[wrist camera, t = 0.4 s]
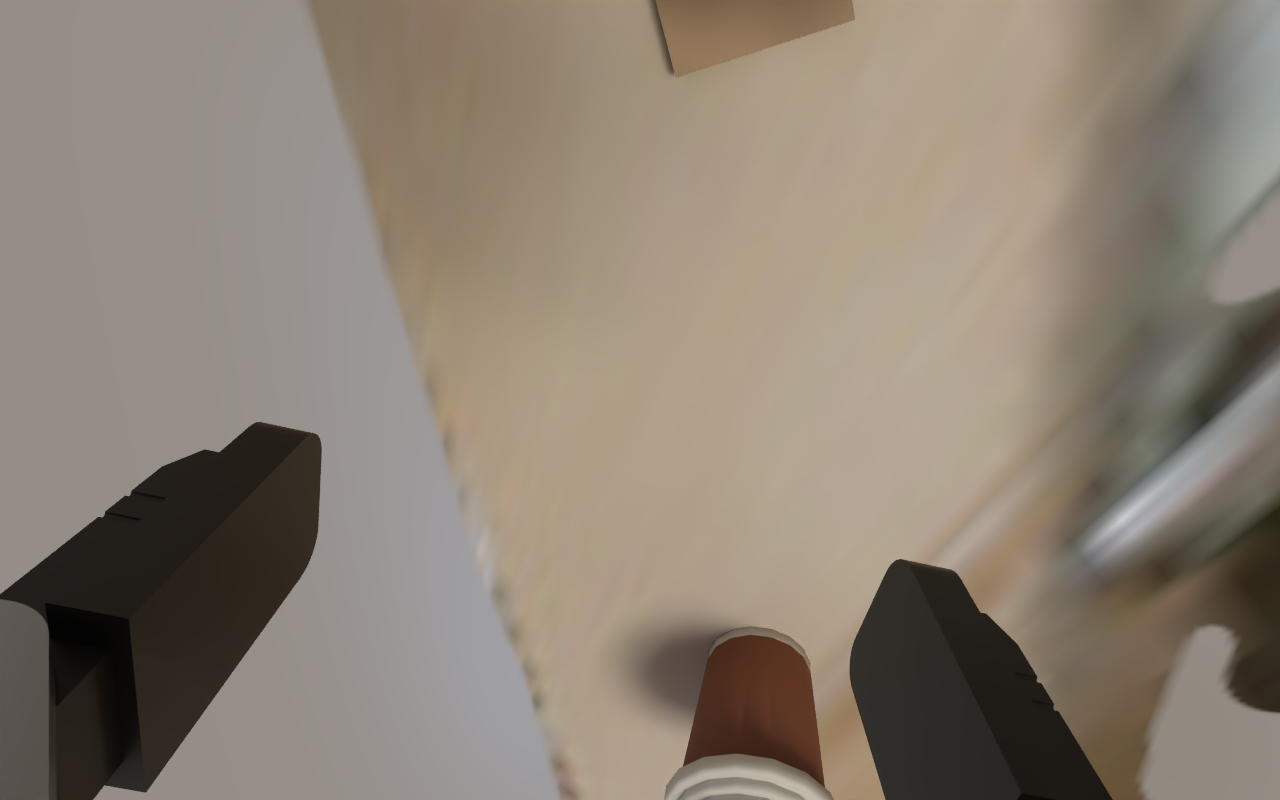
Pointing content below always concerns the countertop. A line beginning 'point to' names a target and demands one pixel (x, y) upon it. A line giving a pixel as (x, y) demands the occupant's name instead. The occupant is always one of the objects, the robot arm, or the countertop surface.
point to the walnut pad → (740, 27)
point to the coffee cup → (753, 724)
